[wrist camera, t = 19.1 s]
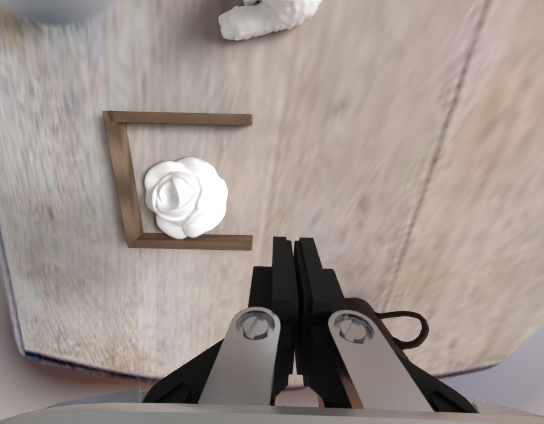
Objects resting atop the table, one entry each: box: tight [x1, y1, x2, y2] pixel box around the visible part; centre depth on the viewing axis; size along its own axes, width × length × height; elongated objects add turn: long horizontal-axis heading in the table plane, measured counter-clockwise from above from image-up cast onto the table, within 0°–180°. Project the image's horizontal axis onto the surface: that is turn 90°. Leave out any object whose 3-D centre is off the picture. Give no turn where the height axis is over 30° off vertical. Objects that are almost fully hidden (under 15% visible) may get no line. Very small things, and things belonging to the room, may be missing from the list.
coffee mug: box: [345, 298, 429, 362], centre depth 31 cm, size 12×9×10 cm
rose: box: [144, 157, 228, 239], centre depth 29 cm, size 10×4×10 cm
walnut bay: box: [102, 111, 253, 251], centre depth 29 cm, size 15×14×2 cm
